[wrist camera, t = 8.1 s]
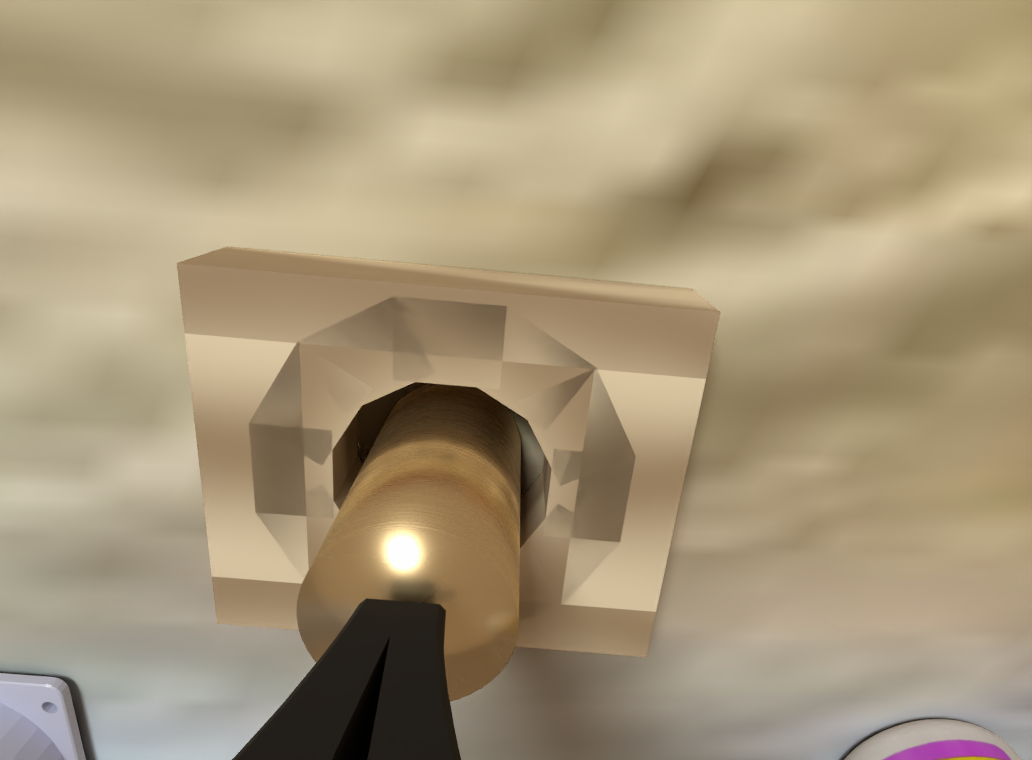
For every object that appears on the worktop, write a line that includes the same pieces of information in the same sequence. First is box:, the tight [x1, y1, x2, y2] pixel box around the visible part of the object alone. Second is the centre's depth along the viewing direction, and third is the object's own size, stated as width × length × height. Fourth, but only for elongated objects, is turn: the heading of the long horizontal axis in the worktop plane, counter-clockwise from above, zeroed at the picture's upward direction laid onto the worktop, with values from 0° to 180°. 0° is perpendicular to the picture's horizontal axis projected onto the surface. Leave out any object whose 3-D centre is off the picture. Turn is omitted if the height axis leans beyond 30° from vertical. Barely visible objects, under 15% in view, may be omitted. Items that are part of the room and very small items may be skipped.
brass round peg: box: [296, 383, 521, 701], centre depth 14 cm, size 4×4×7 cm
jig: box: [177, 247, 720, 657], centre depth 16 cm, size 10×12×2 cm
